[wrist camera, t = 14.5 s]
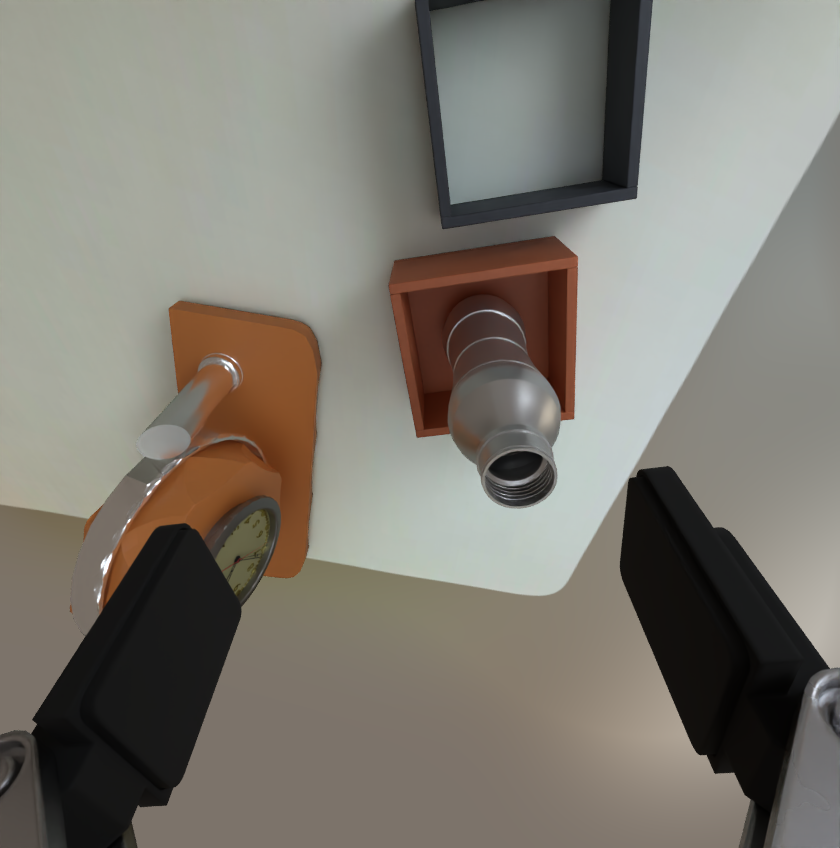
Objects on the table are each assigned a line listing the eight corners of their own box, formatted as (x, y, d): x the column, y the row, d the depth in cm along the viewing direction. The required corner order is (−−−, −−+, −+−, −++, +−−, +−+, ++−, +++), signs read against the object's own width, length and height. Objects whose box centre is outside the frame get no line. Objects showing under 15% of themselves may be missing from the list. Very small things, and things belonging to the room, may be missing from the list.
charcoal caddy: (414, -1, 29) (412, -22, 25) (624, -44, 28) (659, -74, 24) (440, 216, 35) (442, 229, 31) (611, 189, 34) (637, 198, 30)
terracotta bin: (394, 260, 37) (388, 284, 32) (555, 235, 36) (578, 256, 30) (418, 397, 44) (416, 438, 38) (555, 380, 43) (574, 419, 37)
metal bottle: (461, 375, 42) (484, 546, 25) (427, 307, 39) (426, 452, 22) (531, 344, 40) (606, 505, 23) (501, 271, 37) (563, 397, 20)
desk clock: (201, 550, 55) (100, 743, 38) (175, 297, 39) (-20, 433, 22) (308, 564, 56) (256, 757, 39) (325, 322, 40) (250, 471, 23)
